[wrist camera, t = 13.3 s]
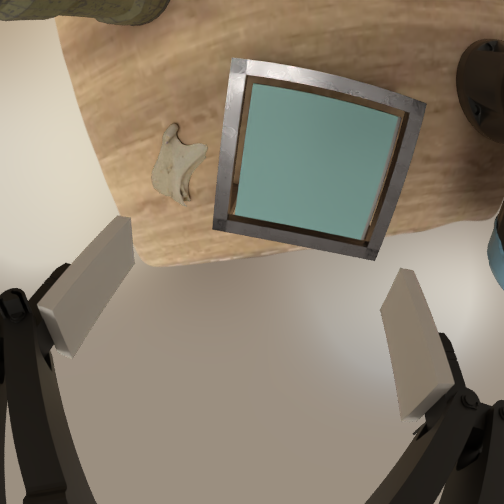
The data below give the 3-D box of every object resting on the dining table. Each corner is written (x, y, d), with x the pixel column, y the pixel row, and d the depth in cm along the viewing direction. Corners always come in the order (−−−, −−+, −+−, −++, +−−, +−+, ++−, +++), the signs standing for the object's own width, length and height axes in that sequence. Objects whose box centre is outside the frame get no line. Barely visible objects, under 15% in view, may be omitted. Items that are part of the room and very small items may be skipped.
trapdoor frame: (396, 93, 33) (426, 103, 24) (360, 219, 43) (374, 261, 35) (248, 60, 34) (231, 57, 25) (230, 193, 44) (212, 229, 35)
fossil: (214, 135, 40) (208, 141, 37) (191, 202, 46) (184, 212, 43) (169, 119, 39) (159, 123, 37) (150, 185, 45) (140, 194, 42)
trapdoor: (399, 116, 27) (402, 118, 26) (363, 236, 34) (364, 240, 34) (254, 83, 27) (253, 83, 26) (236, 210, 35) (234, 214, 34)
